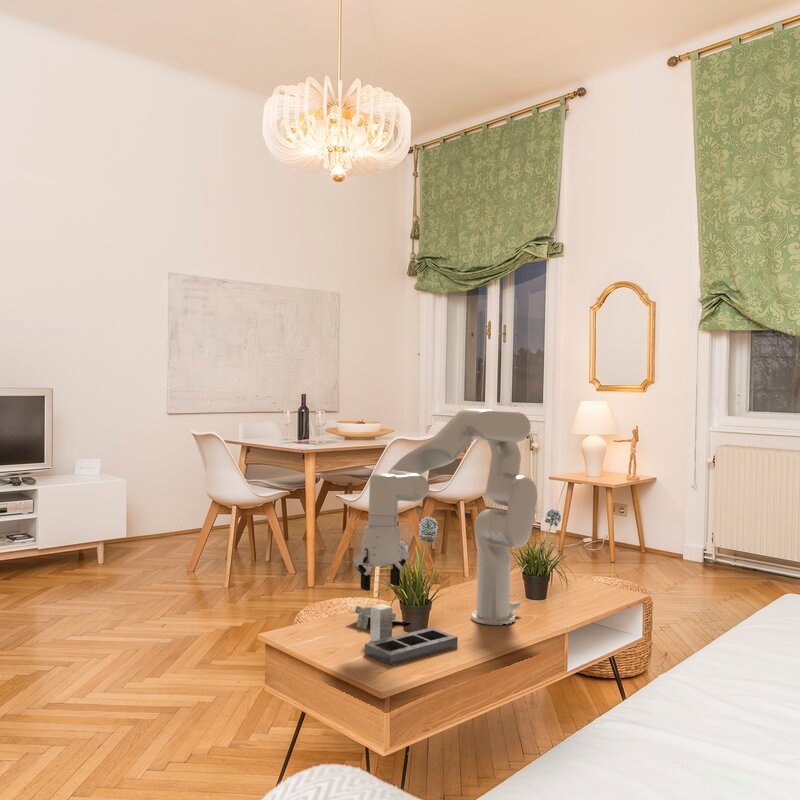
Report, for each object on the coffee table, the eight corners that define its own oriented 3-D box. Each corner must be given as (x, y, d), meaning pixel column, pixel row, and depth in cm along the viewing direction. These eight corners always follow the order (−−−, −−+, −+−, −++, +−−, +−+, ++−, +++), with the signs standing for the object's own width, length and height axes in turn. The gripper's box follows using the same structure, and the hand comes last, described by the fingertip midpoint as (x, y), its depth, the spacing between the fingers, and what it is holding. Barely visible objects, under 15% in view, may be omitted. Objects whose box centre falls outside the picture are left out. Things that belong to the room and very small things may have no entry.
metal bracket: (383, 613, 193) (342, 602, 203) (378, 635, 192) (338, 623, 202) (414, 617, 204) (375, 607, 214) (410, 638, 203) (370, 627, 212)
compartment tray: (431, 636, 192) (431, 627, 192) (457, 647, 184) (457, 637, 184) (364, 653, 178) (365, 643, 178) (390, 665, 170) (390, 655, 170)
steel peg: (382, 638, 190) (382, 603, 190) (391, 642, 187) (392, 607, 187) (370, 641, 187) (370, 606, 187) (379, 645, 184) (380, 609, 184)
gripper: (399, 517, 196) (396, 580, 195) (347, 521, 185) (344, 588, 184) (417, 520, 190) (414, 586, 190) (364, 525, 179) (362, 594, 178)
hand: (380, 587), depth 187 cm, fingers open, 9 cm apart
